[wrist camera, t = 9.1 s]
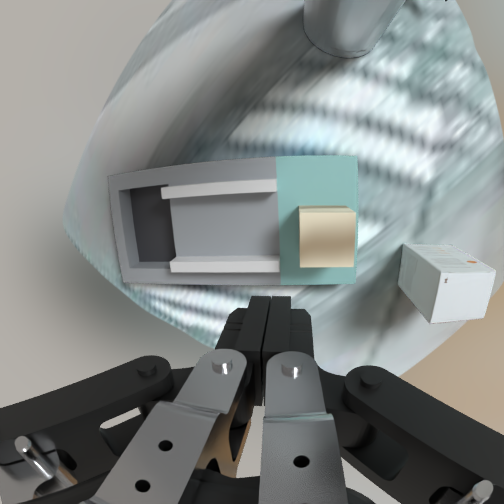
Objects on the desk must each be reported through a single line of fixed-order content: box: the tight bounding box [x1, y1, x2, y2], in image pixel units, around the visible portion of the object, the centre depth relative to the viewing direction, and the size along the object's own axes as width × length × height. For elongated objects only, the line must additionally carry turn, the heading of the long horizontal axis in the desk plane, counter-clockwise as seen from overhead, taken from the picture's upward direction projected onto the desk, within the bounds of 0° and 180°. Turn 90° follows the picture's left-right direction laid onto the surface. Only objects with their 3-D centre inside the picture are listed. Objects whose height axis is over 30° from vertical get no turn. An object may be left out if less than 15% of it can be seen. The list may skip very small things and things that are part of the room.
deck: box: [108, 156, 358, 285], centre depth 31 cm, size 14×29×5 cm, turn 93°
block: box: [299, 205, 356, 267], centre depth 27 cm, size 5×5×5 cm
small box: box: [398, 244, 496, 324], centre depth 27 cm, size 8×6×10 cm
